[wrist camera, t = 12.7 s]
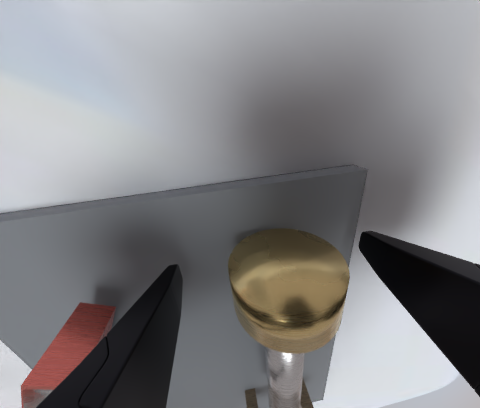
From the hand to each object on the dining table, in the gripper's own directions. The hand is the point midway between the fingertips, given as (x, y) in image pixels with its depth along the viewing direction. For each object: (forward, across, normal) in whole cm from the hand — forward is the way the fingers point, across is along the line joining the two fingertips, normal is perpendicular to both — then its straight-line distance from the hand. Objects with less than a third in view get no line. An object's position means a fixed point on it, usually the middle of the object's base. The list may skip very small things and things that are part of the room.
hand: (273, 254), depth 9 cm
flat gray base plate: (+2, +5, +9) cm, 10 cm away
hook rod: (+1, 0, +7) cm, 7 cm away
